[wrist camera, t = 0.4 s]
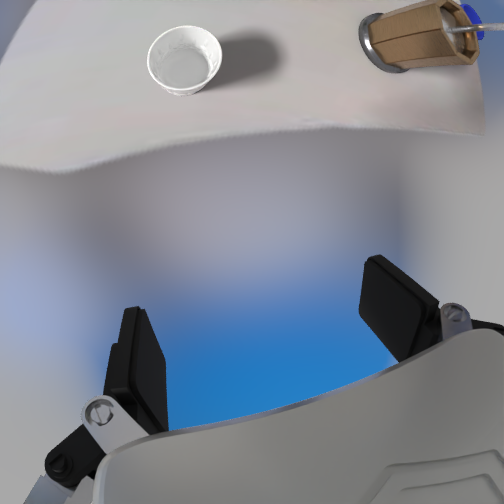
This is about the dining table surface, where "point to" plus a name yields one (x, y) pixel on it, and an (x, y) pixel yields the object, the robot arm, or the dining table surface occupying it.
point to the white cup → (184, 59)
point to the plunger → (463, 29)
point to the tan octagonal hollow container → (416, 37)
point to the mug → (473, 19)
